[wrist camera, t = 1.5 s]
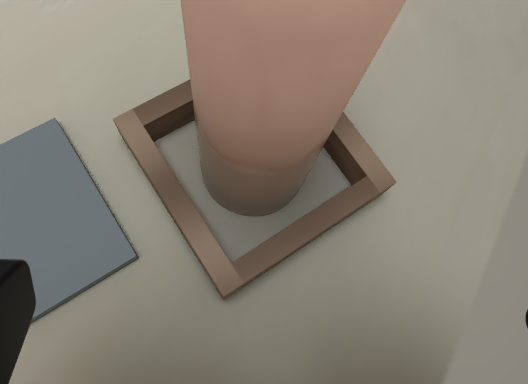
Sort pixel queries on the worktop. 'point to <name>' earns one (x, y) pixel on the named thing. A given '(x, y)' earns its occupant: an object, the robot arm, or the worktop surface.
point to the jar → (274, 88)
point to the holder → (191, 223)
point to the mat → (56, 218)
